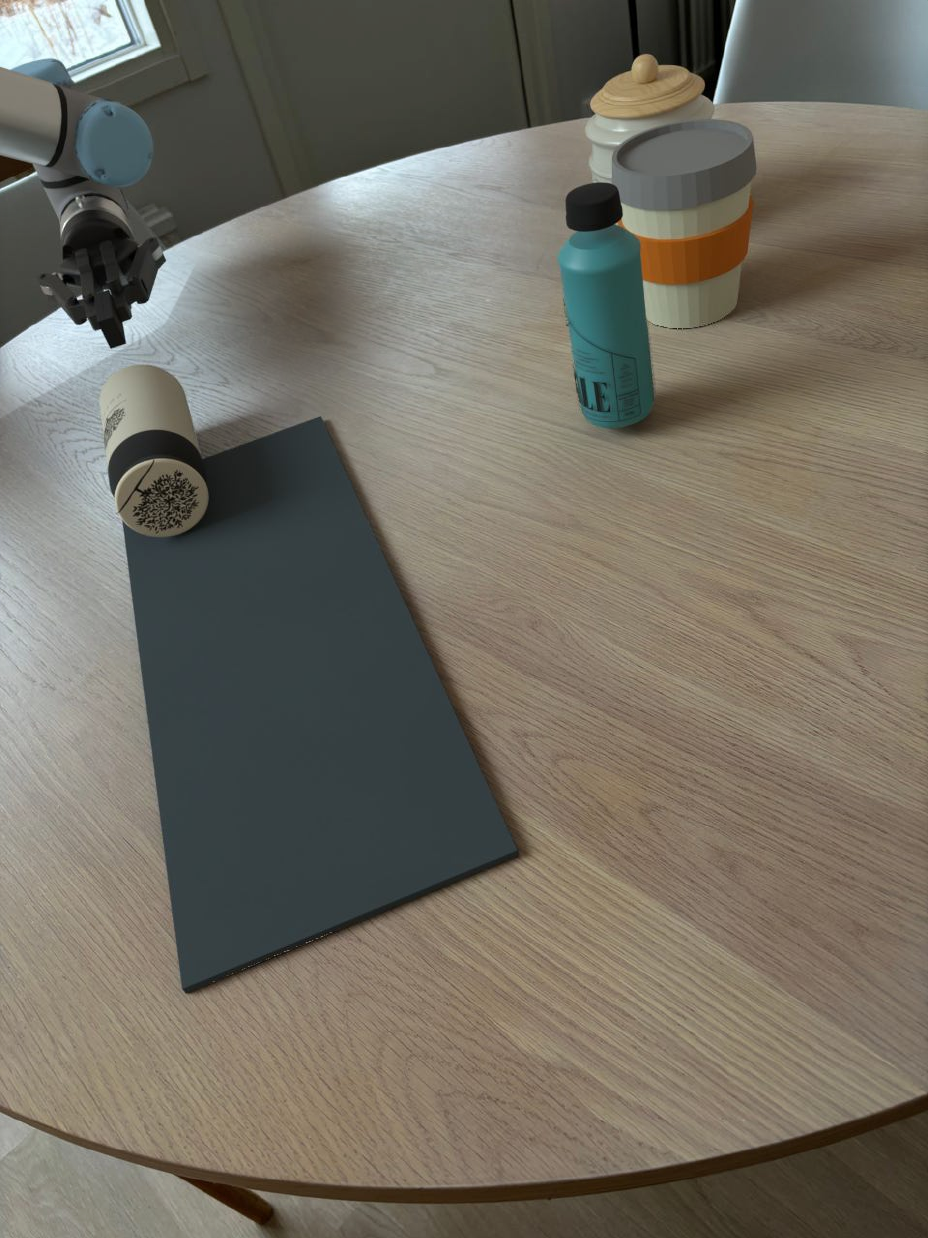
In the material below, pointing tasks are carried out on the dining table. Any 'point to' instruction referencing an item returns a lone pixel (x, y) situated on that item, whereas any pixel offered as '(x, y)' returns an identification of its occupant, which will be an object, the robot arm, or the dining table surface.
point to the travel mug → (152, 452)
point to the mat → (295, 716)
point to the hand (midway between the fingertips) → (111, 332)
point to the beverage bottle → (606, 309)
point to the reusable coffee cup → (688, 215)
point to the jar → (641, 108)
